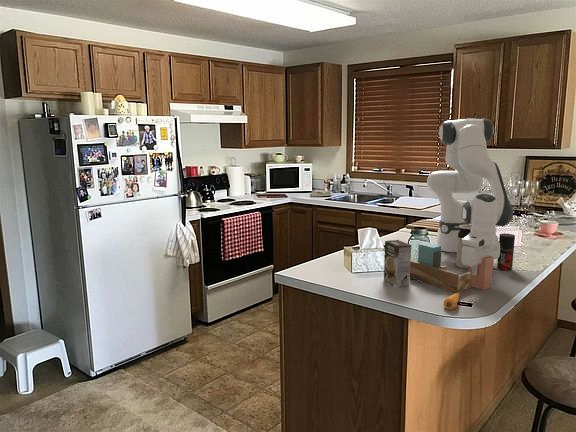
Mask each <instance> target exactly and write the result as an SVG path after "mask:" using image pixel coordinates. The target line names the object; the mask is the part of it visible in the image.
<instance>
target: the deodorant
mask: <svg viewBox="0 0 576 432" xmlns="http://www.w3.org/2000/svg"><path fill="white" fill-rule="evenodd" d="M515 238H516V234H513V233H505V232H504V233H499V237H498V241H499V242H500V256H499V258H497V259H496V260H497V261H496V262H497V263H496V270H498V271H502V272H512V270H513V264H514V263H513V262H514V251H515Z"/></svg>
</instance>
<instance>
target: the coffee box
mask: <svg viewBox="0 0 576 432" xmlns="http://www.w3.org/2000/svg"><path fill="white" fill-rule="evenodd" d="M411 256H412V245H411V244H409V243H407V242H404V241H402V240H400V239H394V240H393V239H391V240H385V241H384V260H383V262H384V264H383V280H384V281H386V282H387V283H389V284H391V285H393V286H394V285H395V286H394V287H396V286H397V287H401V286H402V285H404V286H409V285H410V278H409V277H410V261H411ZM408 284H409V285H408Z"/></svg>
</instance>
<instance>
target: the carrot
mask: <svg viewBox="0 0 576 432" xmlns="http://www.w3.org/2000/svg"><path fill="white" fill-rule="evenodd" d="M460 296H461V291H459V292H456V293H455V292H454V293H453V294H452V295H451V294H450V295H449V296H447V297H446V298H444V299H443V306H444V308H445V309H446V310H449V311H452V310H454V309H456V308H457V306H458V303H459V300H460Z"/></svg>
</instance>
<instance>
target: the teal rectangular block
mask: <svg viewBox="0 0 576 432" xmlns="http://www.w3.org/2000/svg"><path fill="white" fill-rule="evenodd" d="M417 249H418V251H417V252H418V254H417V261H418V262H419V263H422V264H426V265H429V266H433V267H436V268H438V267H442V266H441V264H442V251H441V246H440V245H436V244H434V243H432V242H422V243H419V244H418V248H417Z"/></svg>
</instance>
